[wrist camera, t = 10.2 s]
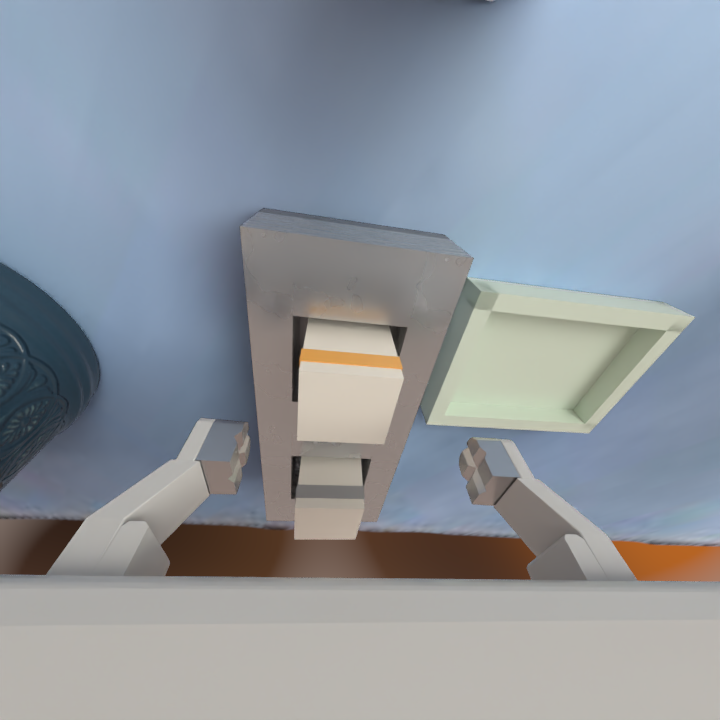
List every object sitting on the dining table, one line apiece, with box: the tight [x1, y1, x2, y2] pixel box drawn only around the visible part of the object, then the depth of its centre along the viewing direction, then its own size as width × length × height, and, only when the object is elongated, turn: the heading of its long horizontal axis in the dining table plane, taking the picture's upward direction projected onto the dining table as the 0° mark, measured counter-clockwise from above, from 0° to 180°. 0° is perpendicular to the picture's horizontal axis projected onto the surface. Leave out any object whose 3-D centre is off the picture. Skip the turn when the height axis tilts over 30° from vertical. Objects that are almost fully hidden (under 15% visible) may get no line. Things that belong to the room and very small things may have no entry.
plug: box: [297, 317, 404, 444], centre depth 14 cm, size 4×4×6 cm
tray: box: [420, 277, 695, 433], centre depth 19 cm, size 13×10×2 cm
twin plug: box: [294, 456, 365, 539], centre depth 20 cm, size 4×4×6 cm
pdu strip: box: [240, 208, 474, 522], centre depth 19 cm, size 9×22×4 cm, turn 172°
